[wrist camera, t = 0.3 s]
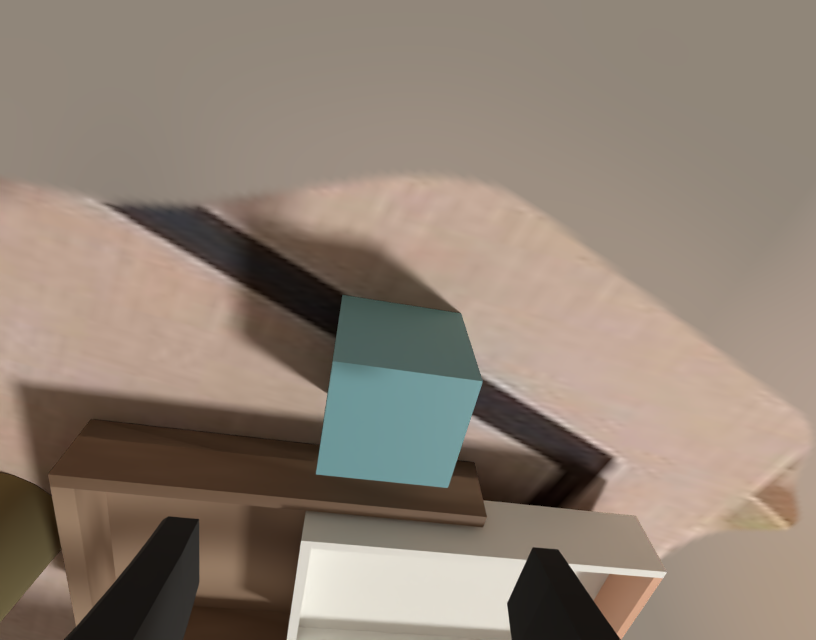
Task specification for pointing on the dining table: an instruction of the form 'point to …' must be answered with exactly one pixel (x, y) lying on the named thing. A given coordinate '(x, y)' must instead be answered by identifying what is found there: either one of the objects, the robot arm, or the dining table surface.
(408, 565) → the tray
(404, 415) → the teal block
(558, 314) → the dining table surface
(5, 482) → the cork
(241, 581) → the dock
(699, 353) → the dining table surface
